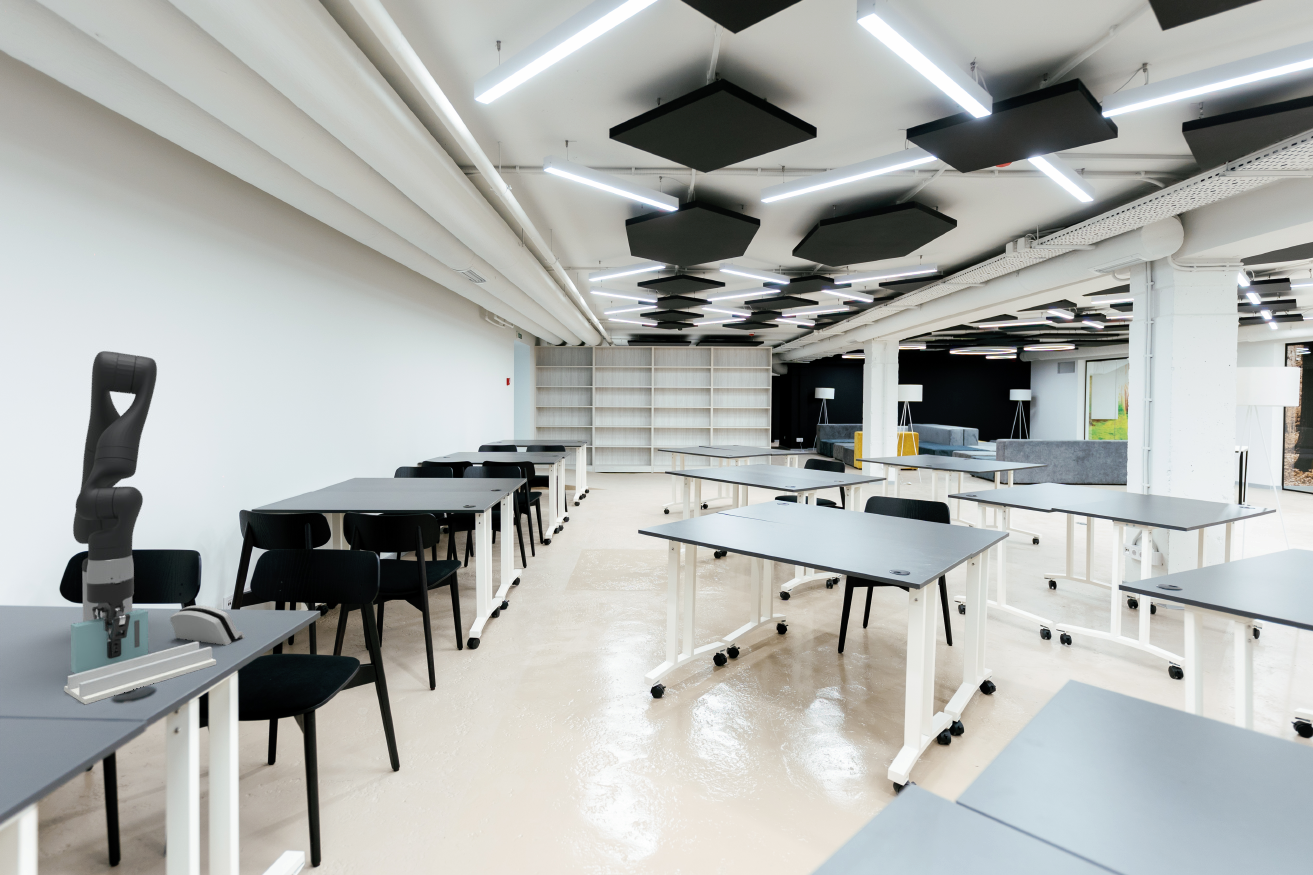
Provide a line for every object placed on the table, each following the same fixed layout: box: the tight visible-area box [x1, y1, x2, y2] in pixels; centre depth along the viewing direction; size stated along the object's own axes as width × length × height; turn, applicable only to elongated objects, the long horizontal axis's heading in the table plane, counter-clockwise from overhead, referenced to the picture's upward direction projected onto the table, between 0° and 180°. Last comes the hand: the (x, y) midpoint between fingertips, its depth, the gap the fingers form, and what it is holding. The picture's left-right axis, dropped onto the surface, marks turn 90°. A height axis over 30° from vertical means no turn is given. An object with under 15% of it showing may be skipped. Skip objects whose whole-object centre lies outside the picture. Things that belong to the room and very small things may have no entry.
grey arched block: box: [169, 604, 246, 646], centre depth 146 cm, size 17×5×10 cm, turn 75°
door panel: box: [70, 609, 149, 674], centre depth 128 cm, size 3×12×10 cm, turn 150°
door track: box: [63, 641, 217, 705], centre depth 125 cm, size 11×22×4 cm, turn 150°
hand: (111, 654), depth 128 cm, fingers closed on door panel, 3 cm apart
